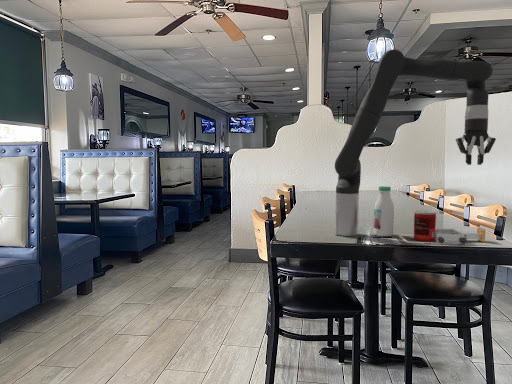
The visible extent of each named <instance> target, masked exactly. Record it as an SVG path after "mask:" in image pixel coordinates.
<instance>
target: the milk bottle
mask: <svg viewBox="0 0 512 384" xmlns="http://www.w3.org/2000/svg"><path fill="white" fill-rule="evenodd" d="M373 210H374V211H373V212H374V213H373V234H374V235H375V236H380V237H392V236H393V235H394V228H395V227H394V223H395V222H394V219H395V217H394V216H395V206H394V202H393V201H392V197H391V186H388V185H387V186H378V197H377V199H376V200H375V204H374V209H373Z"/></svg>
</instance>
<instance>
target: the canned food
mask: <svg viewBox="0 0 512 384" xmlns="http://www.w3.org/2000/svg"><path fill="white" fill-rule="evenodd" d="M413 218H414V219H413V235H414V236H413V238H414V240H415V241H418V240H419V241H418V242H434V241H435V239H436V237H435V229H436V225H437V224H436V223H437V222H436V221H437V211H434V210H428V209H427V210H425V209H423V210H422V209H420V210H419V209H418V210H414V215H413Z"/></svg>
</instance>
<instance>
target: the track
mask: <svg viewBox="0 0 512 384" xmlns="http://www.w3.org/2000/svg"><path fill="white" fill-rule="evenodd" d="M397 236H398V237H399V238H400V239H401V240H402V241H403V242H404V241H405V242H404V243H406V244H424V243H431V245H432V244H433V245H458V244H465V246H490V244H489V243H436V242H431V241H408V240H407V238H405V237H414V234H397ZM435 238H436V236H435Z"/></svg>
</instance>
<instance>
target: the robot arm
mask: <svg viewBox="0 0 512 384" xmlns="http://www.w3.org/2000/svg"><path fill="white" fill-rule="evenodd" d="M493 71H494V70H493V66H492V65H491V64H490V63H489V62H486V61H481V60H470V61H469V60H466V61H464V60H463V61H458V60H451V59H443V58H442V59H440V58H439V59H438V58H436V59H435V58H431V59H425V58H423V59H421V58H419V59H418V58H411V57H406V56H405V55H404V54H403V52H402V51H401V50H398V49H394V48H393V49H390V50H386V52H384V53H383V54H382V55H381V56H380V58H379V59H378V63H377V71H376V73H375V76H374V79H373V82H372V84H371V86H370V88H369V89H368V91H367V92H366V94H365V96H364V98H362V101H361V103H360V105H359V107H358V110H357V112H356V115H355V117H354V119H353V122H352V124H351V127H350V130H349V132H348V136H347V138H346V140H345V143H344V145H343V146H342V148H341V150H340V152H339V154H338V155H337V157H336V159H335V161H334V170H335V172H336V174H338V175H337V176H338V177H337V184H336V186H335V210H334V233H335V235H336V236H343V237H345V236H346V237H355V236H358V235H359V207H360V206H359V203H360V187H361V176H362V175H361V173H362V165H361V159H360V157H361V154H362V151H363V150H364V147H365V145H366V144H367V143H368V141H369V140H370V139H371V137H372V135H373V134H374V132H375V130H376V129H377V127H378V125H379V123H380V120H381V118H382V116H383V114H384V111H385V108H386V105H387V103H388V99H389V96H390V93H391V91H392V88H393V86H394V84H395V83H396V81H397V79H398V77H399V76H401V77H402V76H411V77H412V76H415V77H423V78H424V77H425V78H430V79H437V80H443V81H444V80H445V81H459V80H464V82H465V83H464V84H465V91H466V106H465V107H466V108H465V113H464V114H465V115H464V134H462V136H460V137H457V138H455V142H456V144H457V147H458V149H459V151H460V153H461V154H464V155H465V163H466V165H468V166H470V165H472V158H473V157H472V151H473V149H474V147H475V146H476V149H477V152H478V153H477V165H478V166H480V165H481V166H482V164H483V163H484V158H485V157H484V156H485V154H489V153H490V152H491V151H492V148H493V146H494V144H495V142H496V140H497V139H496V138H495V137H492V136H489V133H488V129H489V127H488V126H489V92H488V90H487V89H486V81H488V80H489V78H491V77H492V74H493ZM464 142H465V143H466V147H465V144H464ZM485 142H487V143H486V144H484V143H485Z"/></svg>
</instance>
